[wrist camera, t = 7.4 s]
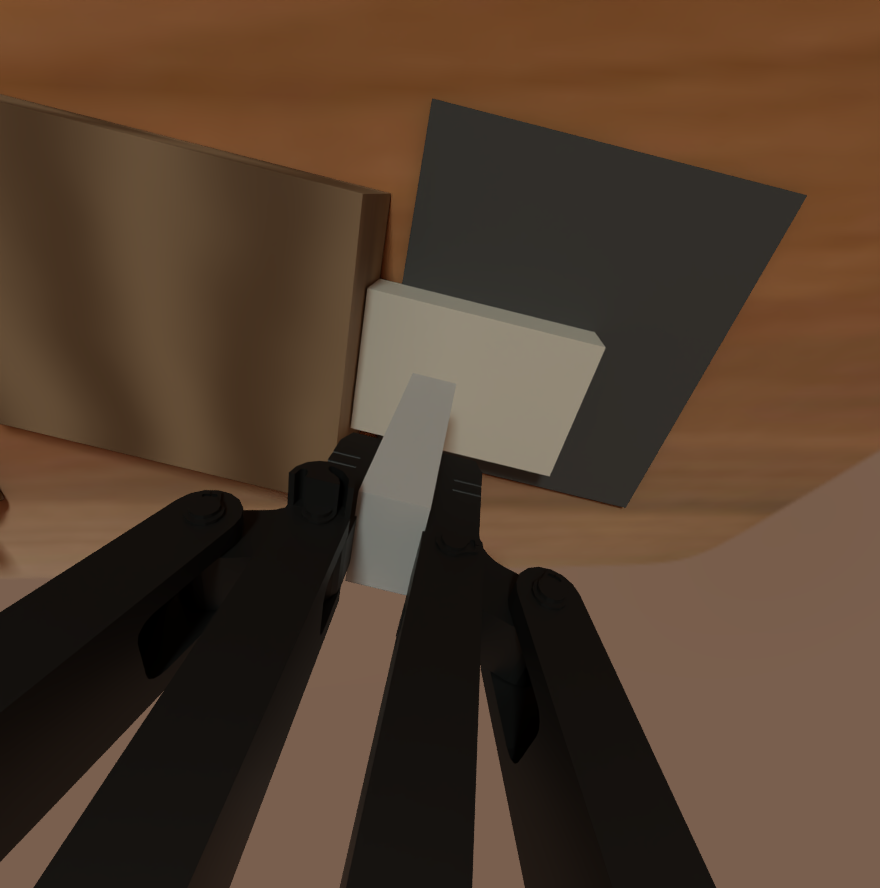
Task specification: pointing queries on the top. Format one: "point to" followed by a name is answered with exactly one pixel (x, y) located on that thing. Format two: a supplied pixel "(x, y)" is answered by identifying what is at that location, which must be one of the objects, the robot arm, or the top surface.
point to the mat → (594, 269)
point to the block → (475, 372)
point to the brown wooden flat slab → (178, 296)
